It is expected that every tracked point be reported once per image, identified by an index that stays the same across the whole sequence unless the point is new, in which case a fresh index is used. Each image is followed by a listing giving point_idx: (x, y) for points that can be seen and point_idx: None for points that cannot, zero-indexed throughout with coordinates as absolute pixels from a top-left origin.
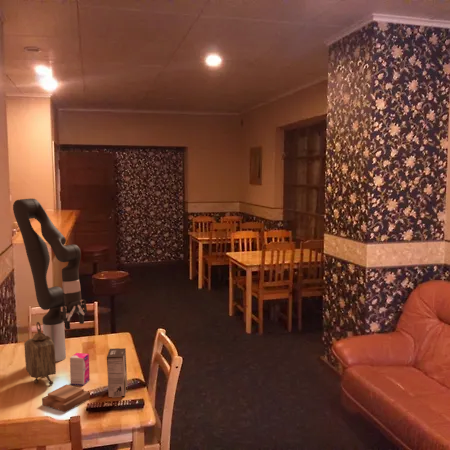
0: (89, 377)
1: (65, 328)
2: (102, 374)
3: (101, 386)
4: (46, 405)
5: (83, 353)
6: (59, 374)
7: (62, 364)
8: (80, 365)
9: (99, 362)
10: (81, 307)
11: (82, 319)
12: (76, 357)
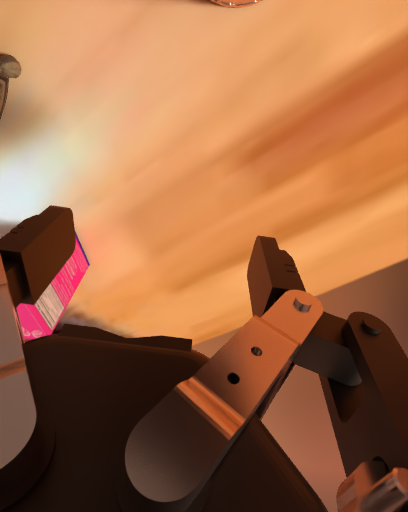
0: (85, 270)
1: (51, 205)
2: (144, 277)
3: (75, 308)
4: None
5: (36, 322)
6: (68, 129)
7: (169, 55)
8: None
9: (237, 220)
10: (365, 400)
11: (251, 301)
12: None
